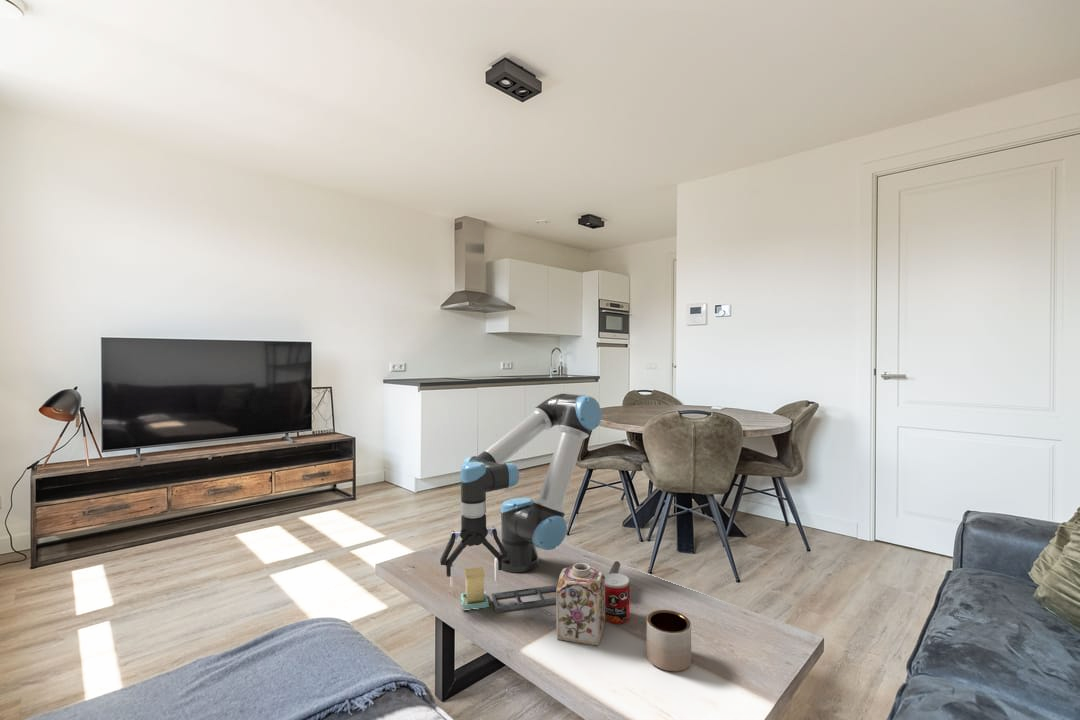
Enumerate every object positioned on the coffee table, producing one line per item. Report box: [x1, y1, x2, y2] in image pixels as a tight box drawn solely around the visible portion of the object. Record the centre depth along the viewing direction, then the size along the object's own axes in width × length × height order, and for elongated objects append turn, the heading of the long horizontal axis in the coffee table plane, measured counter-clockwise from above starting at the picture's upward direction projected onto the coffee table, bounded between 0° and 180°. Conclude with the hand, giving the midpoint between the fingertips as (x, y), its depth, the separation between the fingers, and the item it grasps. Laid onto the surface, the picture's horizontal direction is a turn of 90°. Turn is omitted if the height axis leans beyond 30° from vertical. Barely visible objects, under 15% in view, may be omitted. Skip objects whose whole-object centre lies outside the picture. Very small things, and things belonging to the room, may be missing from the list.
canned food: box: [604, 573, 630, 625], centre depth 140 cm, size 8×8×11 cm
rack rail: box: [490, 584, 557, 613], centre depth 150 cm, size 22×9×1 cm, turn 105°
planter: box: [645, 609, 693, 672], centre depth 121 cm, size 11×11×10 cm
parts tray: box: [460, 589, 490, 610], centre depth 148 cm, size 8×8×2 cm
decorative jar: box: [555, 562, 606, 646], centre depth 133 cm, size 12×12×18 cm
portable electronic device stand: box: [608, 560, 621, 574], centre depth 154 cm, size 9×8×8 cm
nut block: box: [464, 566, 486, 604], centre depth 148 cm, size 6×6×9 cm
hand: (474, 583), depth 148 cm, fingers open, 13 cm apart
